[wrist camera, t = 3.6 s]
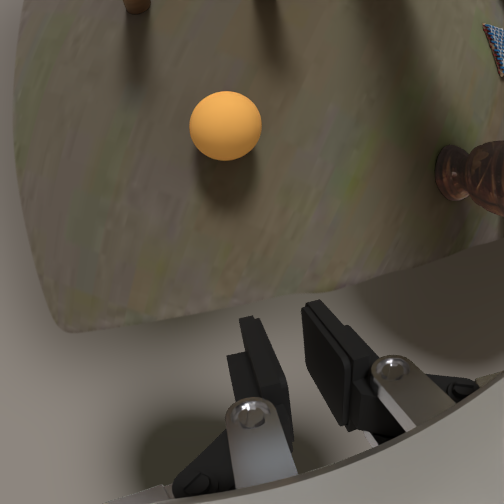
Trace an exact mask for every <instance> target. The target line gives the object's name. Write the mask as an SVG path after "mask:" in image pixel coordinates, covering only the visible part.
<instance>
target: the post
mask: <svg viewBox="0 0 504 504" xmlns="http://www.w3.org/2000/svg"><path fill="white" fill-rule="evenodd" d="M123 2H124V5H125V7H126V9H127V11H128V12H129V13H131V14H140V13H142V12H144V11H146V10H147V9H148V8H149V7H150V4H151V1H150V0H123Z"/></svg>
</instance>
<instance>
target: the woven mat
mask: <svg viewBox="0 0 504 504" xmlns="http://www.w3.org/2000/svg"><path fill="white" fill-rule="evenodd" d="M482 25H483V28H484V29H483V30H484V31H485V33H486V35H487V38H488V40H489V43H490V48H492V52H493V55H494V58H495V61H496V64H497V67H498V73H499V74H500V76H501V77H502V76H503V75H504V71H503V70H504V30H503V29H502V28H501V29H500V28H498V27H495V26H491V25H489V24H488V25H486V24H484V23H482ZM485 27H486V28H487V29H485ZM487 32H488V33H487ZM488 35H489V36H490V37H488ZM490 40H491V41H490ZM494 52H496V54H495V53H494ZM496 56H497V58H496ZM499 57H500V58H499ZM497 60H498V61H499V63H498V62H497ZM499 65H500V67H499Z"/></svg>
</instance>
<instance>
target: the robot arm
mask: <svg viewBox="0 0 504 504" xmlns="http://www.w3.org/2000/svg"><path fill="white" fill-rule="evenodd" d="M301 314H302V324H303V336H304V348H305V362H306V366H307V369H308V371H309V373H310V375H311V377H312V378H313V380H314V382H315V384H316V385H317V387H318V389H319V391H320V392H321V394H322V396H323V398H324V399H325V401H326V403H327V405H328V407H329V408H330V410H331V412H332V414H333V415H334V417H335V419H336V421H337V422H338V424H339V425H340V426H343V425H345V427H346V429H347V431H348V432H351V431H353V430H356V429H358V430H362V431H364V435H365V438H366V439H367V440H368V442H369V444H370V445H371V446H372V449H369V450H367V451H365V452H362V453H360V454H357V455H355V456H352V457H350V458H347V459H345V460H342V461H339V462H336V463H333V464H330V465H328V466H325V467H322V468H319V469H316V470H312V471H309V472H306V473H303V474H299V475H298V473H297V470H296V467H295V464H294V461H293V459H292V456H291V453H292V452H293V446H292V442H294V434H293V425H292V417H291V408H290V400H289V391H288V385H287V381H286V377H285V375H284V373H283V370H282V368H281V366H280V363H279V361H278V359H277V357H276V355H275V352H274V350H273V348H272V345H271V343H270V341H269V339H268V336H267V334H266V332H265V330H264V327H263V325H262V323H261V321H260V319H259V318H257V319H254V317H253V316H248V317H244V318H240V319H239V323H240V328H241V333H242V338H243V343H244V348H245V352H241V353H237V354H232V355H227V361H228V366H229V372H230V376H231V382H232V386H233V391H234V396H235V400H236V402H235V403H234V404H232V405H231V406H230V407H229V408H228V410H227V412H226V416H225V421H226V429H225V430H224V431H223V432H222V434H220V435H219V436H218V437H217V438H216V439H215V440H214V441H213V442H212V443H211V444H210V445H209V446H208V447H207V448H206V449H205V450H204V451H203V452H202V453H201V454H200V455H199V456H198V457H197V458H196V459H195V460H194V461H192V462H191V463H190V464H189V465H188V466H187V467H186V468H185V469H184V470H183V471H182V472H180V473H179V474H178V476H177V477H176V478H175V479H174V482H173V484H170V485H167V486H165V487H163V485H158V486H155V487H153V488H150V489H147V490H144V491H141V492H138V493H135V494H131V495H128V496H125V497H122V498H118V499H115V500H111V501H108V502H106V503H104V504H504V371H501V372H497V373H494V374H491V375H487V376H483V377H479V378H476V379H475V381H472V380H470V379H467V378H459V377H449V376H439V375H430V374H424V373H423V372H422V371H421V370H420V369H419V368H418V367H417V366H416V365H415V364H414V363H413V362H412V361H410V360H409V359H407V358H406V357H403V356H399V355H387V356H384V357H381V358H379V357H378V356H377V355H376V353H374V351H373V350H372V349H371V348H370V347H369V346H368V345H367V344H366V343H365V342H364V341H363V340H362V339H361V338H360V336H359V335H358V334H357V333H356V332H355V331H354V330H353V329H352V328H351V327H350V326H349V325H345V326H344V325H343V324H342V323H341V322H340V321H339V320H338V318H337V317H336V316H335V315H334V314H333V313H332V312H331V311H330V310H329V309H328V308H327V306H326V305H325V304H324V303H323V302H322V301H321V300H315V301H312V302H308V303H306V305H305V307H303V308H302V309H301Z"/></svg>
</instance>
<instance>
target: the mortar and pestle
mask: <svg viewBox="0 0 504 504" xmlns="http://www.w3.org/2000/svg"><path fill="white" fill-rule="evenodd" d="M435 174H436V177H435V178H436V183H437V186H438V188H439V190H440V191H441V193H442V194H443V195H444V196H445V197H446V198H447V199H449V200H453V201H457V200H461V199H463V198H466V197H467V196H469V195H470V197H471V198H472V199H473V201H474V202H475V203H476V204H478V205H479V206H482V207H483V208H484V209H486V210H487V211H489V212H492V213H494V214H497V215H500V216H503V217H504V141H493V142H488V143H485V144H483V145H479V146H477V147H475V148H474V149H473V150H472V151H471V152H470V154H468V153H467V152H466V151H465V150H463V149H461V148H460V147H457V146H455V145H447V146H446V147H444V148H443V149H442V150H441V152H440V154H439V156H438V159H437V163H436V166H435Z"/></svg>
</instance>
